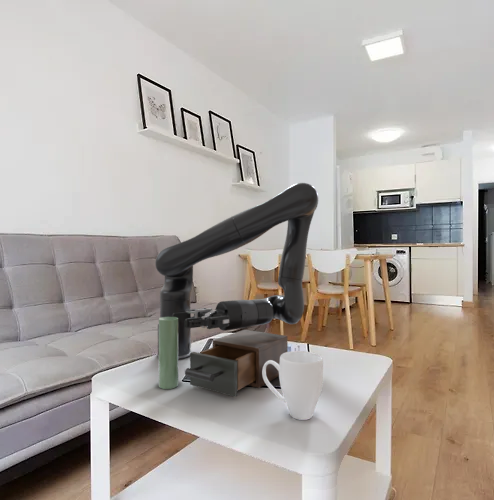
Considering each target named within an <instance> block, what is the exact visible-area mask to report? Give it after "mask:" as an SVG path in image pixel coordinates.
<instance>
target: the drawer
mask: <svg viewBox="0 0 494 500" xmlns="http://www.w3.org/2000/svg"><path fill="white" fill-rule="evenodd" d="M184 375H185V376H186V377H189V383H190V384H189V385H190V386H194V387H197V388H202V389H205V390H208V391H213V392H216V393H220V394H223V395H227V396H231V397H234V398H235V397H236V396H238V391H240V390H241V389H243V388H245V387H247V386H249V385H248V384H250V383H252V382H254V381H255V380H256V352H255V351H250V350H244V349H239V348H233V347H228V346H223V345H218V346H215V347H213V346H212V347H209V348H207V349H204V350H202V351H199V352H196V351H191V353H190V356H189V367H187V368H185V371H184Z"/></svg>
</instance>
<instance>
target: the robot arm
mask: <svg viewBox="0 0 494 500" xmlns="http://www.w3.org/2000/svg"><path fill="white" fill-rule="evenodd" d="M318 204H319V193H318V190H317V189H316V188H315V186H313V185H311V184H309V183H306V182H297V183H295V184H293V185H291V186H289V187H288V188H286V189H284V190H283V191H281V192H280V193H278V194H277V195H275V196H273V197H271V198H270V199H268V200H267V201H264V202H261V203H260V204H258V205H255V206H252V207H250V208H248V209H245V210H242V211H240V212H238V213H236V214H234V215H231V216H229V217H227V218H226V219H225V218H224V220H222V221H219V222H218V223H216V224H214V225H212V226H211V227H209V228H207V229H206V230H205V229H204V231H202V232H200V233H199V234H196V235H195V236H193V237H191V238H188V239H186V240H184V241H181V242H177V243H175V244H173V245H170V246H166V247H165V248H163V249H161V250H160V251H159V253H158V254H157V256H156V257H155V262H154V266H155V269H156V271H157V272H158V273H159V274H160V275H162V276H163V277H164V282H163V285H162V287H161V289H160V291H159V318H161V317H177V318H178V360H179V359H180V360H181V359H185V358H188V357H190V353H191V352H192V350H191V349H192V342H191V341H192V340H191V339H192V338H191V337H192V335H191V334H192V333H191V331H192V330H191V329H197V328H202V329H205V328H206V329H207V330H212V329H220V330H221V331H222V332H223V331H225V332H226V331H232V330H238V329H239V330H240V329H246V328H251V327H254V326H264V325H267V324H270V323H271V322H272V321H273V320H279V321H282V322H284V323H286V324H289V325H296V324H298V323H299V322H300V321H301V319H302V318H303V315H304V312H305V297H304V289H303V281H304V276H305V275H304V274H305V267H306V257H307V246H308V239H309V238H308V237H309V231H310V229H311V228H310V227H311V225H312V220H313V217H314V214H315V211H316V210H317V208H318ZM285 222H287V228H286V236H285V241H284V245H283V248H282V252H281V253H282V254H281V258H280V263H279V269H278V277H277V284H278V287H280V288H281V289H282V290H283V294H282V295H281V294H276V295H270V296H267V297H264V298H258V299H257V298H255V299H234V300H233V299H232V300H223V301H221V300H220V301H219V302H218V303H217V304H216V306H215V309H213V308H208V307H203V308H192V307H191V302H192V301H191V297H192V296H191V294H192V290H193V285H194V283H193V279H194V266H195V265H196V264H198V263H201V262H202V261H204V260H205V261H206V260H208V259H211V258H215V257H218V256H222V255H224V254H227V253H230V252H232V251H235V250H238V249H239V248H242V247H244V246H246V245H248V244H250V243H251V242H254V241H255V240H257V239H259V238H260V237H262V236H263V235H264V234H266V233H267V232H268V231H270V230H271V229H273V228H274V227H276V226H278V225H280V224H282V223H285ZM192 314H193V316H191V315H192ZM157 355H158V356H159V323H158V324H157Z"/></svg>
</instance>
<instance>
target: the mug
mask: <svg viewBox="0 0 494 500" xmlns="http://www.w3.org/2000/svg"><path fill="white" fill-rule="evenodd" d="M268 364H272V365H273V366H275V367H276V369H277V370H278V371H279V376H278V379H279V386H280V390H281V393H280V392H279V391H278V390H277V389H276V388H275V387H274V386H273V384H272V383H271V381H270V382H269V381H268V379H267V376H266V366H267V365H268ZM262 376H263V380H264V382H265V383H266V384H265V385H266V386H267V388H268V389H269V390H270V391H271V392H272V393H273V394H274V395H275V396H276V397H277V398H278V399H279V400H281V401H282V402H284V403H285V404H286V407H287V410H288V412H289V415H290V417H291V418H293V419H295V420H299V421H306V420H310V419H312V418H313V415H314V414H315V411H316V408H317V405H318V402H319V399H320V397H321V394H322V392H323V391H322V390H323V386H324V360H323V357H322V356H321V354H319V353H315V352H312V351H306V350H291V351H288V352H286V353H283V354H282V355H281V356H280V365H279V364H278V363H276V362H275V361H273V360H269V361H267V362H266V363H265V364H264V366H263V369H262Z"/></svg>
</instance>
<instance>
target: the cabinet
mask: <svg viewBox="0 0 494 500" xmlns="http://www.w3.org/2000/svg"><path fill="white" fill-rule="evenodd" d="M288 338H289V337H288V335H283V334H277V333H271V332H264V331H258V330H257V331H256V330H251V329H250V330H249V329H242V330H239V331H236V332H233V333H230V334H227V335H224V336H221V337H219V338H215V339H212V347H215V346H218V345H223V346H228V347H233V348H239V349H244V350H250V351H255V352H256V380H255V381H254V382H252V383H250V384H248V385H247V386H248V387H253V388H257V389H260V388H262V387H263V386H265V385H266V383H265V382H264V380H263V376H262V369H263V366H264V364H265V363H266V362H267V361H269V360H273V361H275V362H276V363H278V364H279V365H280V356H281V355H282V354H283V353H286V352H289V351H288V350H289V349H288V345H289V343H288V341H289V340H288ZM266 376H267V379H268V381H269V382H270V383H271V382H272V381H273V380H275V379H276V378H279V371H278V370H277V369H276V367H275V366H273V365H272V364H268V365H267V366H266Z"/></svg>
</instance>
